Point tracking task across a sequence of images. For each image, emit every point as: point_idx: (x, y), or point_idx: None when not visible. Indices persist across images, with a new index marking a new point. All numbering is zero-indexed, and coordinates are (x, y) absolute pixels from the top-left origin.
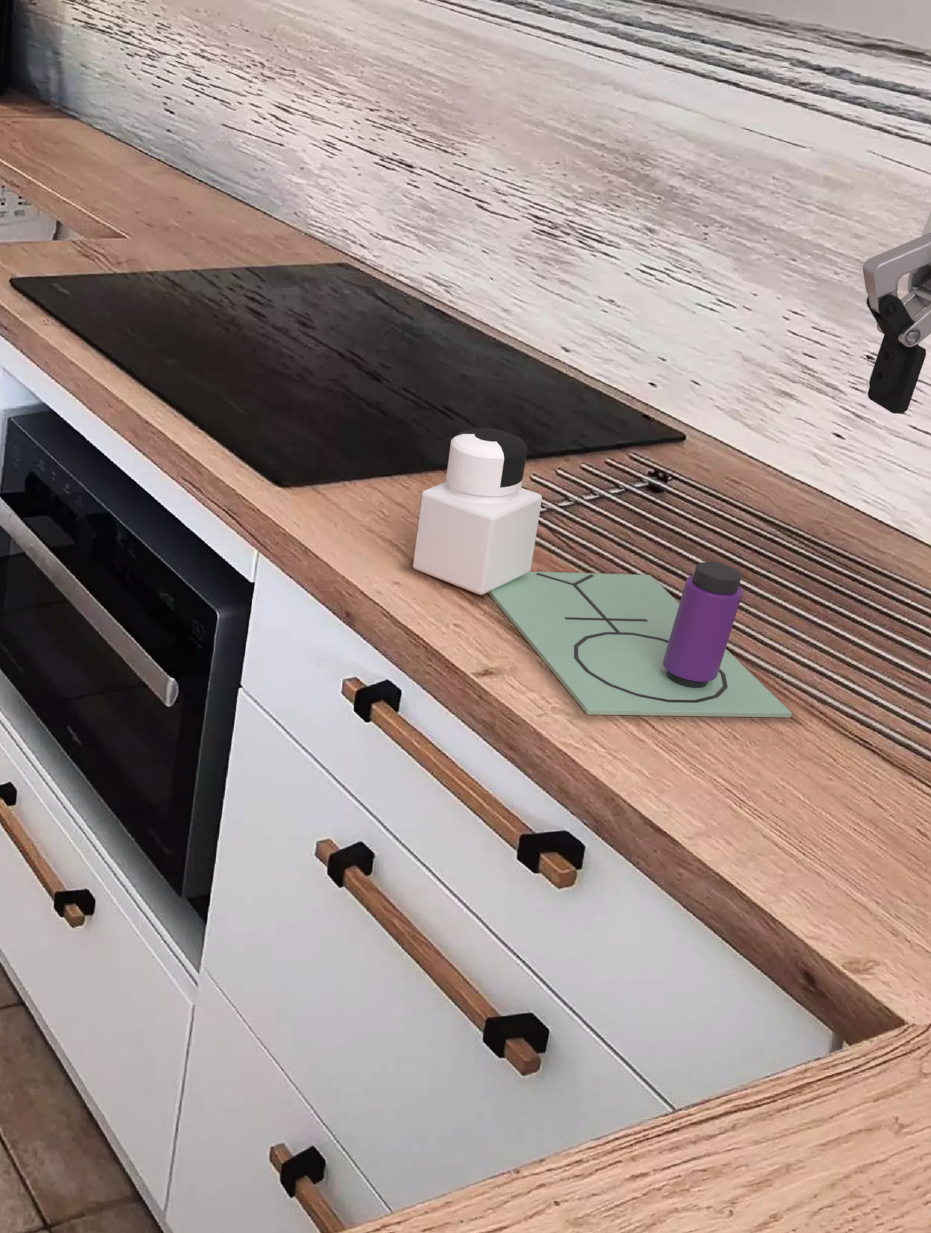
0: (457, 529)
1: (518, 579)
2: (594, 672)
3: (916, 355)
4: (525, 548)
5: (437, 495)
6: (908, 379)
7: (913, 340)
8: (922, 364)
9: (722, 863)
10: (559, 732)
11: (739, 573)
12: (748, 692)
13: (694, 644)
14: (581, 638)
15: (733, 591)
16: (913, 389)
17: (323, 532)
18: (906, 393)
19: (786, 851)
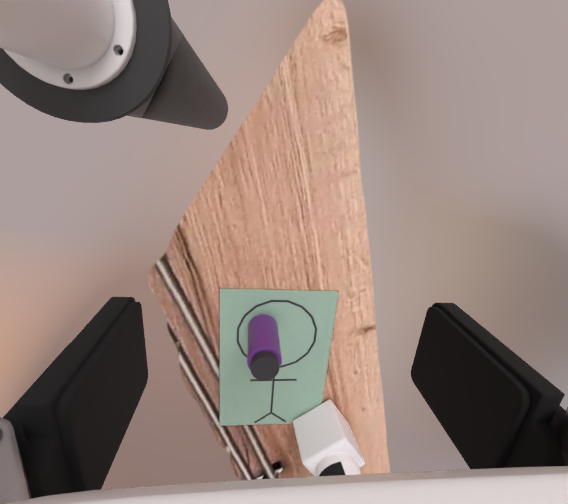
0: (349, 436)
1: (299, 415)
2: (312, 328)
3: (547, 380)
4: (304, 430)
5: (360, 460)
6: (496, 340)
7: None
8: (497, 368)
9: (351, 145)
10: (362, 274)
11: (252, 366)
12: (233, 310)
13: (273, 329)
14: (299, 360)
15: (259, 352)
16: (457, 330)
17: (372, 452)
18: (469, 321)
19: (306, 154)
